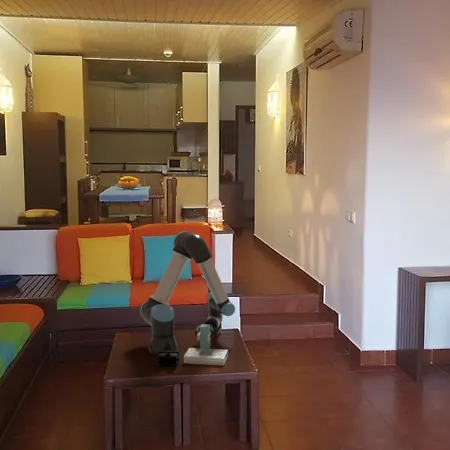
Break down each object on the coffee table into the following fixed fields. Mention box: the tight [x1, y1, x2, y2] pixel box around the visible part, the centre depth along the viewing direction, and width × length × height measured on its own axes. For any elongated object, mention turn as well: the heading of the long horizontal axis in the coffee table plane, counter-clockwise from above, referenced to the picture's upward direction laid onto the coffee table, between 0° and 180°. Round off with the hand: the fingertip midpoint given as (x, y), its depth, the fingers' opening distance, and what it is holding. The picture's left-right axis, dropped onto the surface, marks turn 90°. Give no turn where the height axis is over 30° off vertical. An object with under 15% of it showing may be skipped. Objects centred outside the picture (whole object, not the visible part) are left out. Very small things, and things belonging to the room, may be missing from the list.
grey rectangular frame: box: [183, 347, 229, 366], centre depth 284 cm, size 20×12×4 cm, turn 80°
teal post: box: [199, 323, 211, 349], centre depth 298 cm, size 4×4×12 cm
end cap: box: [157, 350, 180, 369], centre depth 277 cm, size 10×7×7 cm
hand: (203, 338), depth 293 cm, fingers closed on teal post, 4 cm apart
